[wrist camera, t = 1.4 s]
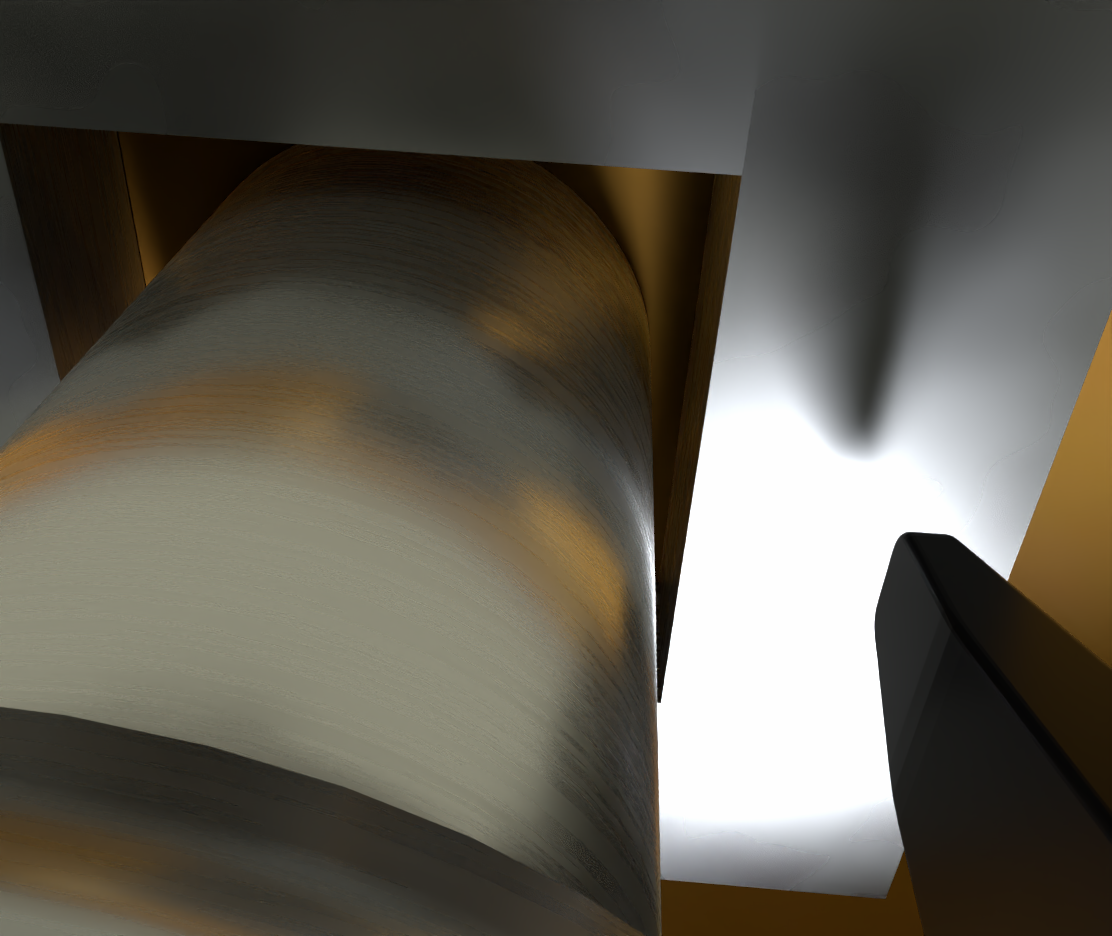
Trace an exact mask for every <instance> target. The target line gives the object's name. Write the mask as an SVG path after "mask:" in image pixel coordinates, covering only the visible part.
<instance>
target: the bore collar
mask: <svg viewBox="0 0 1112 936" xmlns="http://www.w3.org/2000/svg"><path fill="white" fill-rule="evenodd" d="M116 131H121V132H135V133H149V134H163V135H177V136H191V137H205V138H220V139H234V140H248V141H262V142H276V143H290V144H304V145H318V146H332V147H347V148H361V149H375V150H389V151H403V152H417V153H431V154H445V155H459V156H474V157H488V158H502V159H516V160H530V161H544V162H558V163H572V164H586V165H601V166H615V167H629V168H643V169H657V170H671V171H685V172H699V173H713V174H715V175H714V183H713V190H712V197H711V204H710V212H709V219H708V226H707V233H706V241H705V248H704V255H703V262H702V270H701V277H700V284H699V291H698V299H697V306H696V313H695V320H694V328H693V335H692V342H691V349H690V357H689V364H688V371H687V378H686V386H685V393H684V400H683V407H682V415H681V422H680V429H679V436H678V444H677V451H676V458H675V465H674V473H673V480H672V487H671V494H670V502H669V509H668V516H667V523H666V531H665V538H664V545H663V552H662V560H661V567H660V574H659V581H658V582H655V607H656V660H657V714H658V767H659V821H660V874H661V879H663V880H675V881H686V882H698V883H709V884H720V885H732V886H743V887H755V888H766V889H777V890H789V891H800V892H812V893H823V894H834V895H846V896H857V897H869V898H880V899H886V896H887V893H888V891H889V888H890V886H891V883H892V880H893V878H894V875H895V873H896V870H897V867H898V865H899V862H900V860H901V857H902V854H903V852H904V847H903V843H902V838H901V834H900V830H899V826H898V821H897V816H896V811H895V806H894V801H893V796H892V789H891V782H890V774H889V766H888V757H887V748H886V739H885V730H884V720H883V711H882V702H881V693H880V684H879V675H878V665H877V656H876V647H875V638H874V616H875V609H876V605H877V601H878V598H879V594H880V591H881V587H882V584H883V581H884V577H885V574H886V571H887V567H888V564H889V560H890V557H891V554H892V550H893V547H894V544H895V542H896V541H897V539H898V537H899V536H900V535H902V534H903V533H905V532H909V531H911V532H924V533H937V534H947V535H951V536H953V537H955V538H956V539H958V540H959V541H960V542H962V543H963V544H964V545H965V546H966V547H967V548H969V549H970V550H971V551H972V552H973V553H975V554H976V555H977V556H978V557H979V558H981V559H982V560H983V561H984V562H985V563H987V564H988V565H989V566H990V567H991V568H993V569H994V570H995V571H996V572H997V573H999V574H1000V575H1001V576H1002V577H1003V578H1005V579H1006V580H1007V581H1008V578H1009V576H1010V573H1011V570H1012V568H1013V565H1014V563H1015V560H1016V557H1017V555H1018V552H1019V549H1020V547H1021V544H1022V542H1023V539H1024V536H1025V534H1026V531H1027V529H1028V526H1029V523H1030V521H1031V518H1032V516H1033V513H1034V510H1035V508H1036V505H1037V503H1038V500H1039V497H1040V495H1041V492H1042V490H1043V487H1044V484H1045V482H1046V479H1047V477H1048V474H1049V471H1050V469H1051V466H1052V464H1053V461H1054V458H1055V456H1056V453H1057V450H1058V448H1059V445H1060V443H1061V440H1062V437H1063V435H1064V432H1065V430H1066V427H1067V424H1068V422H1069V419H1070V417H1071V414H1072V411H1073V409H1074V406H1075V404H1076V401H1077V398H1078V396H1079V393H1080V391H1081V388H1082V385H1083V383H1084V380H1085V378H1086V375H1087V372H1088V370H1089V367H1090V365H1091V362H1092V359H1093V357H1094V354H1095V351H1096V349H1097V346H1098V344H1099V341H1100V338H1101V336H1102V333H1103V331H1104V328H1105V325H1106V323H1107V320H1108V318H1109V315H1110V312H1111V310H1112V0H0V448H1V447H2V446H3V445H4V443H5V442H6V441H7V440H8V439H9V438H10V437H11V436H12V435H13V433H14V432H15V431H16V430H17V429H18V428H19V427H20V426H21V425H22V424H23V422H24V421H25V420H26V419H27V418H28V417H29V416H30V415H31V414H32V413H33V411H34V410H35V409H36V408H37V407H38V406H39V405H40V404H41V403H42V401H43V400H44V399H45V398H46V397H47V396H48V395H49V394H50V393H51V392H52V390H53V389H54V388H55V387H56V386H57V385H58V384H59V383H60V382H61V380H62V379H63V378H64V377H65V376H66V375H67V374H68V373H69V372H70V371H71V369H72V368H73V367H74V366H75V365H76V364H77V363H78V362H79V361H80V360H81V358H82V357H83V356H84V355H85V354H86V353H87V352H88V351H89V350H90V348H91V347H92V346H93V345H94V344H95V343H96V342H97V341H98V340H99V339H100V337H101V336H102V335H103V334H104V333H105V332H106V331H107V330H108V329H109V327H110V326H111V325H112V324H113V323H114V322H115V321H116V320H117V319H118V318H119V316H120V315H121V314H122V313H123V312H124V311H125V310H126V309H127V308H128V307H129V305H130V304H131V303H132V302H133V301H134V300H135V299H136V298H137V297H138V295H139V294H140V293H141V292H142V291H143V290H144V289H145V283H144V278H143V272H142V267H141V261H140V256H139V251H138V245H137V240H136V234H135V229H134V224H133V218H132V213H131V207H130V202H129V197H128V191H127V186H126V180H125V175H124V170H123V164H122V159H121V153H120V148H119V143H118V137H117V132H116Z"/></svg>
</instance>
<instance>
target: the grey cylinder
mask: <svg viewBox="0 0 1112 936" xmlns="http://www.w3.org/2000/svg"><path fill="white" fill-rule="evenodd" d="M0 936H662V928H661V874H660V821H659V767H658V714H657V660H656V607H655V553H654V500H653V446H652V393H651V345H650V335H649V326H648V318H647V314H646V310H645V306H644V302H643V298H642V294H641V291H640V288H639V286H638V283H637V281H636V278H635V276H634V274H633V271H632V269H631V266H630V264H629V262H628V260H627V258H626V257H625V255H624V253H623V252H622V250H621V248H620V247H619V245H618V243H617V241H616V240H615V238H614V236H613V235H612V234H611V232H610V231H609V230H608V229H607V227H606V226H605V225H604V223H603V222H602V221H601V220H600V218H599V217H598V216H597V215H596V213H595V212H594V211H593V210H592V209H591V208H590V207H589V206H588V205H587V204H586V203H585V202H584V201H583V200H582V199H581V198H580V197H579V196H578V195H577V194H576V193H575V192H574V191H573V190H572V189H571V188H570V187H568V186H567V185H566V184H564V183H563V182H562V181H560V180H559V179H558V178H556V177H555V176H554V175H552V174H551V173H550V172H548V171H547V170H546V169H544V168H543V167H542V166H540V165H538V164H536V163H534V162H533V161H530V160H516V159H502V158H488V157H474V156H459V155H445V154H431V153H417V152H403V151H389V150H375V149H361V148H347V147H332V146H318V145H304V144H296V145H294V146H292V147H290V148H287V149H285V150H284V151H282V152H281V153H279V154H278V155H276V156H275V157H273V158H271V159H270V160H268V161H267V162H265V163H264V164H262V165H261V166H259V167H258V168H257V169H256V170H255V171H254V172H253V173H252V174H250V175H249V176H248V177H247V178H246V179H245V180H244V181H242V182H241V183H240V184H239V185H238V186H237V187H236V188H235V189H234V191H233V192H232V193H231V194H230V195H229V196H228V197H227V198H226V199H225V200H224V202H223V203H222V204H221V205H220V206H219V207H218V208H217V209H216V210H215V212H214V213H213V214H212V215H211V216H210V217H209V218H208V219H207V220H206V221H205V223H204V224H203V225H202V226H201V227H200V228H199V229H198V230H197V231H196V233H195V234H194V235H193V236H192V237H191V238H190V239H189V240H188V241H187V242H186V244H185V245H184V246H183V247H182V248H181V249H180V250H179V251H178V252H177V253H176V255H175V256H174V257H173V258H172V259H171V260H170V261H169V262H168V263H167V265H166V266H165V267H164V268H163V269H162V270H161V271H160V272H159V273H158V274H157V276H156V277H155V278H154V279H153V280H152V281H151V282H150V283H149V284H148V286H147V287H146V288H145V289H144V290H143V291H142V292H141V293H140V294H139V295H138V297H137V298H136V299H135V300H134V301H133V302H132V303H131V304H130V305H129V307H128V308H127V309H126V310H125V311H124V312H123V313H122V314H121V315H120V316H119V318H118V319H117V320H116V321H115V322H114V323H113V324H112V325H111V326H110V327H109V329H108V330H107V331H106V332H105V333H104V334H103V335H102V336H101V337H100V339H99V340H98V341H97V342H96V343H95V344H94V345H93V346H92V347H91V348H90V350H89V351H88V352H87V353H86V354H85V355H84V356H83V357H82V358H81V360H80V361H79V362H78V363H77V364H76V365H75V366H74V367H73V368H72V369H71V371H70V372H69V373H68V374H67V375H66V376H65V377H64V378H63V379H62V380H61V382H60V383H59V384H58V385H57V386H56V387H55V388H54V389H53V390H52V392H51V393H50V394H49V395H48V396H47V397H46V398H45V399H44V400H43V401H42V403H41V404H40V405H39V406H38V407H37V408H36V409H35V410H34V411H33V413H32V414H31V415H30V416H29V417H28V418H27V419H26V420H25V421H24V422H23V424H22V425H21V426H20V427H19V428H18V429H17V430H16V431H15V432H14V433H13V435H12V436H11V437H10V438H9V439H8V440H7V441H6V442H5V443H4V445H3V446H2V447H1V448H0Z"/></svg>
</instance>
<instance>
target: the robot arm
mask: <svg viewBox="0 0 1112 936" xmlns="http://www.w3.org/2000/svg"><path fill="white" fill-rule="evenodd" d="M874 638H875V647H876V656H877V665H878V675H879V684H880V693H881V702H882V711H883V720H884V730H885V739H886V748H887V757H888V766H889V774H890V782H891V789H892V796H893V801H894V806H895V811H896V816H897V821H898V826H899V830H900V834H901V838H902V843H903V847H904V851H905V855H906V860H907V864H908V868H909V872H910V877H911V881H912V885H913V889H914V894H915V898H916V902H917V906H918V911H919V915H920V919H921V923H922V928H923V932H924V936H1112V668H1111V667H1110V666H1109V665H1107V664H1106V663H1105V662H1104V661H1103V660H1101V659H1100V658H1099V657H1098V656H1097V655H1095V654H1094V653H1093V652H1092V651H1091V650H1089V649H1088V648H1087V647H1086V646H1085V645H1083V644H1082V643H1081V642H1080V641H1079V640H1077V639H1076V638H1075V637H1074V636H1073V635H1071V634H1070V633H1069V632H1068V631H1067V630H1065V629H1064V628H1063V627H1062V626H1061V625H1060V624H1058V623H1057V622H1056V621H1055V620H1054V619H1052V618H1051V617H1050V616H1049V615H1048V614H1046V613H1045V612H1044V611H1043V610H1042V609H1040V608H1039V607H1038V606H1037V605H1036V604H1034V603H1033V602H1032V601H1031V600H1030V599H1028V598H1027V597H1026V596H1025V595H1024V594H1022V593H1021V592H1020V591H1019V590H1018V589H1016V588H1015V587H1014V586H1013V585H1012V584H1011V583H1009V582H1008V581H1007V580H1006V579H1005V578H1003V577H1002V576H1001V575H1000V574H999V573H997V572H996V571H995V570H994V569H993V568H991V567H990V566H989V565H988V564H987V563H985V562H984V561H983V560H982V559H981V558H979V557H978V556H977V555H976V554H975V553H973V552H972V551H971V550H970V549H969V548H967V547H966V546H965V545H964V544H963V543H962V542H960V541H959V540H958V539H956V538H955V537H953V536H951V535H947V534H937V533H924V532H911V531H909V532H905V533H903V534H902V535H900V536H899V537H898V539H897V541H896V542H895V544H894V547H893V550H892V554H891V557H890V560H889V564H888V567H887V571H886V574H885V577H884V581H883V584H882V587H881V591H880V594H879V598H878V601H877V605H876V609H875V616H874Z"/></svg>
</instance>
